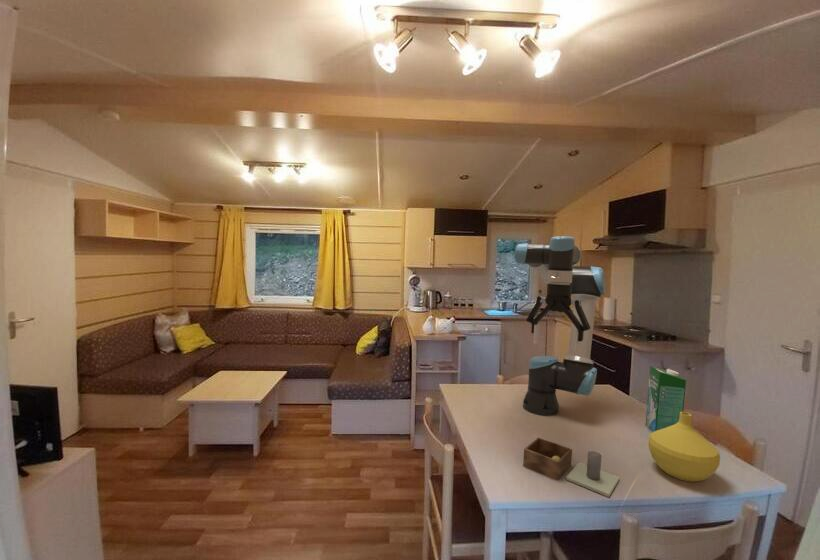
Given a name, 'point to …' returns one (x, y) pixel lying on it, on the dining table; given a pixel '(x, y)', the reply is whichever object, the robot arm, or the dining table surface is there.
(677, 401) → the milk carton
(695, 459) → the vase
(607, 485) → the lid
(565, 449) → the walnut box
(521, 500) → the dining table surface
